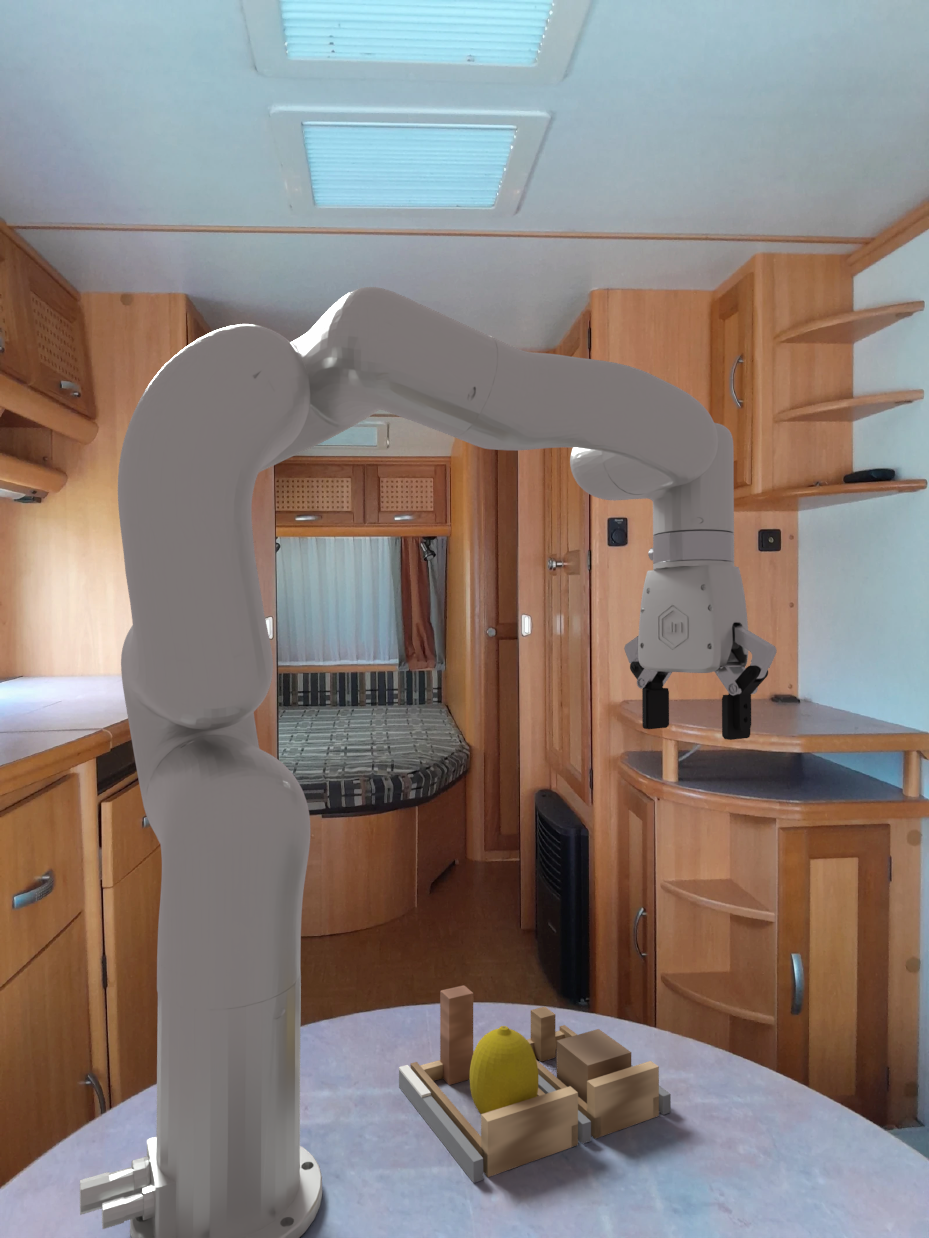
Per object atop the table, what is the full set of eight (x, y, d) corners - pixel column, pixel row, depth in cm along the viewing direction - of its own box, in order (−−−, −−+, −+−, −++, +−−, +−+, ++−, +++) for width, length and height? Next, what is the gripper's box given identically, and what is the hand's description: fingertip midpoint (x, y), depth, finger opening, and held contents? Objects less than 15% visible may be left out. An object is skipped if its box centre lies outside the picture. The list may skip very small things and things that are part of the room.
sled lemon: (487, 1177, 58) (487, 1072, 58) (410, 1081, 70) (410, 995, 70) (578, 1144, 61) (577, 1046, 62) (489, 1059, 74) (489, 978, 74)
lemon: (538, 1109, 66) (538, 1012, 66) (538, 1152, 61) (538, 1046, 61) (472, 1105, 67) (472, 1009, 67) (466, 1147, 61) (466, 1042, 61)
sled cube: (594, 1138, 62) (594, 1087, 62) (507, 1057, 74) (506, 1014, 74) (658, 1115, 65) (658, 1066, 65) (564, 1041, 77) (564, 999, 77)
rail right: (663, 1114, 65) (663, 1096, 65) (581, 1050, 75) (581, 1034, 75) (670, 1112, 66) (670, 1093, 66) (587, 1048, 76) (587, 1032, 76)
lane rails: (473, 1183, 57) (473, 1159, 57) (398, 1086, 69) (398, 1066, 69) (591, 1140, 62) (591, 1118, 62) (502, 1057, 74) (502, 1039, 74)
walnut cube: (587, 1121, 65) (587, 1065, 65) (556, 1093, 69) (556, 1040, 69) (631, 1106, 67) (631, 1052, 67) (598, 1079, 71) (598, 1028, 71)
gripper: (601, 559, 82) (602, 727, 81) (744, 543, 67) (745, 746, 67) (653, 563, 86) (653, 722, 85) (797, 548, 71) (799, 740, 71)
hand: (694, 733), depth 76 cm, fingers open, 9 cm apart
